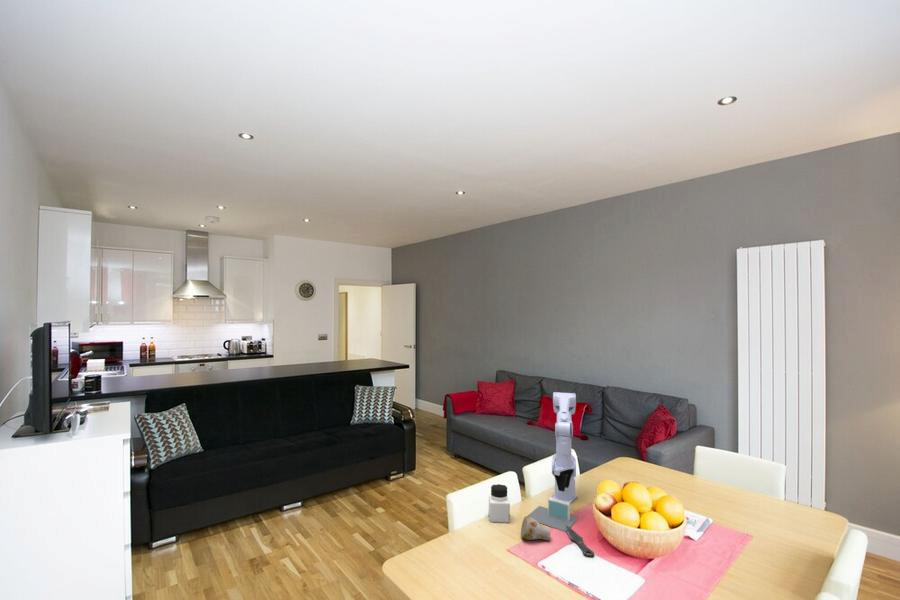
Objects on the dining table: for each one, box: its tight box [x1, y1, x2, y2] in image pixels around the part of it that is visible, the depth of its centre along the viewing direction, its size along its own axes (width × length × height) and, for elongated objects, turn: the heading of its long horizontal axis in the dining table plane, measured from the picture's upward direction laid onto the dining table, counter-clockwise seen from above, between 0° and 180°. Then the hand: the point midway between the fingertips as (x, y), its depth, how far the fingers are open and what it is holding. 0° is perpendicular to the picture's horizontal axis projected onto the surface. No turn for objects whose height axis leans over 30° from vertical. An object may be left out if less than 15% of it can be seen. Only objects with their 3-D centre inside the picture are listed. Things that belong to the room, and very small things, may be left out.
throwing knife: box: [565, 525, 595, 558], centre depth 142 cm, size 4×20×1 cm, turn 8°
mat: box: [527, 505, 579, 533], centre depth 158 cm, size 13×16×1 cm
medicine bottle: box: [488, 483, 511, 524], centre depth 158 cm, size 7×7×12 cm
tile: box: [547, 497, 571, 521], centre depth 158 cm, size 2×8×6 cm, turn 54°
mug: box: [520, 515, 551, 541], centre depth 144 cm, size 8×10×10 cm
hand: (563, 488), depth 162 cm, fingers open, 4 cm apart
